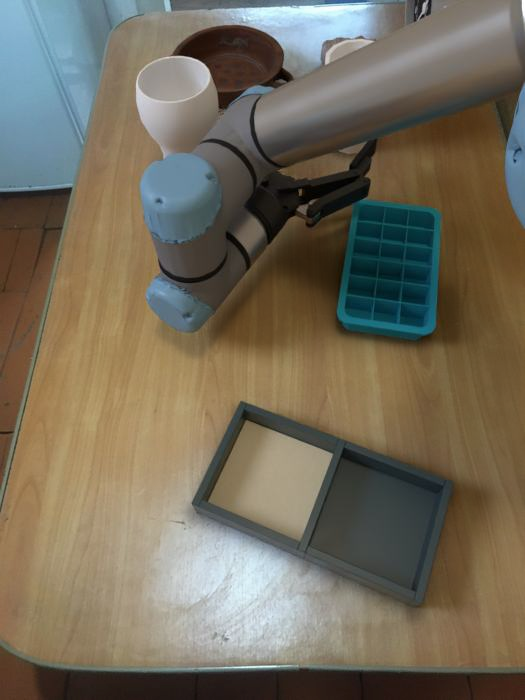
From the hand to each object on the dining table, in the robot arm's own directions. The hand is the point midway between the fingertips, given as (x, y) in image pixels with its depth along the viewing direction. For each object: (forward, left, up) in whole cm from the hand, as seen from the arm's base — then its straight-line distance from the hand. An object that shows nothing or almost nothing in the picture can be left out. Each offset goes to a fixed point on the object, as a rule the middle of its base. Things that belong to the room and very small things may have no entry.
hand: (329, 126), depth 76 cm
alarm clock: (-9, -26, -7) cm, 29 cm away
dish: (+22, -13, -7) cm, 26 cm away
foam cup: (-1, -7, -7) cm, 10 cm away
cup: (+19, +8, -7) cm, 22 cm away
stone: (+4, -22, -7) cm, 23 cm away
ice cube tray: (-14, +16, -7) cm, 23 cm away
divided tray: (-16, +47, -7) cm, 50 cm away
